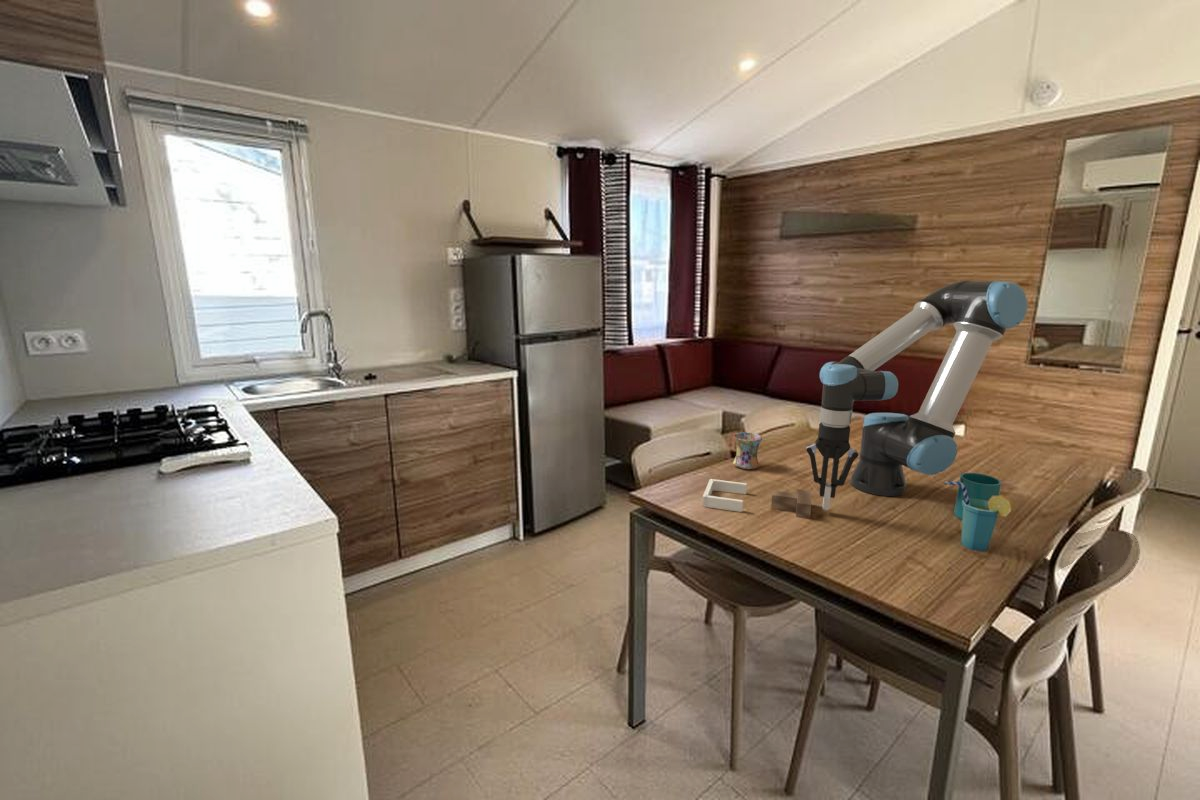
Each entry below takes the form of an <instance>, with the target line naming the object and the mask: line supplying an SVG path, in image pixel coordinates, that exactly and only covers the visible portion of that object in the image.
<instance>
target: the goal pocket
mask: <svg viewBox="0 0 1200 800" xmlns="http://www.w3.org/2000/svg"><path fill="white" fill-rule="evenodd" d="M747 488H748V483H746V482H738V481H730V480H723V479H722V480H721V479H714V478H710V479H709V480H708V483H707V485H706V487H705V489H704V492H703V495H702V500H701V501H702V503H701V507H703V508H711V509H717V510H725V511H732V512H740V513H743V508H744V507H743V505H744V500H743V499H736V498H732V497H731V498H728V497H724V496H723V497H721V496H715V495H712V494H713V491H717V492H723V493H733V494H739V495H747Z"/></svg>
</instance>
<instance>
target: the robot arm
mask: <svg viewBox="0 0 1200 800" xmlns="http://www.w3.org/2000/svg"><path fill="white" fill-rule="evenodd" d="M1028 306H1029V305H1028V298H1027V296H1026V292H1025V290H1024V288H1022V287H1021V286H1020V285H1019V284H1017V283H1015V282H1011V281H1002V280H991V281H989V280H960V281H956V282H952V283H950V284H947V285H945V286H942V287H941V288H938V289H937V290H935V291H933V292H931V293H930V294H928V295H926V296H925V297H923V298H922V299H920V300H919V301H917V302H916V303H915V304H914V306H913V308H912V310H911V311H910V312H908V313H907V314H905V315H904V316H903V317H901V318H900V319H898V320H897V321H895V322H894V323H893V324H891V325H890V326H888V327H887V328H885V329H884V330H883V331H881V332H880V333H878V334H877V335H876V336H874V337H873V338H871V339H870V340H869V341H867V342H866V343H864V344H863V345H862V346H860V347H859V348H857V349H855V351H853V352H852V353H850V354H849V355H847V356H846V357H844V358H842V359H841V360H840V361H829V362H826V363H824V364H823V366H822V367H821V368H820V371H819V379H820V382H821V383H822V394H821V407H820V414H819V421H820V423H819V425H818V432H817V433H818V434H817V438H816V440H815V442H814V443H813V444H812V445H807V446H806V447H805V448H806V452H807V453H808V456H809V459H810V463H811V469H812V476H813V482H814V483H816V484H819V492H818V493H819V496H820V497H823V498H822V510H825V511H829V510H830V504H831V498H832V499H835V497H836V491H837V489H836V488H837V487H839V486H840V487H843V486H844V485H845V483H846V480H847V478H848V475H849V474H850V473H849V472H850V470H851V468H852V465H853V463H854V462H855V460H856V459H857V458H858V457H859V460H858V461H857V463H856V464H855V465H856V466H855V467H854V469H853V471H852V472H851V474H850V475H851V476H850V482H849V483H850V485H851V486H852V487H853V488H854V489H856V490H859V491H860V492H864V493H865V494H866V493H867V494H870V495H876V496H882V497H883V496H884V497H897V496H902V495H904V494H905V493H906V490H907V482H906V477H905V472H904V469H903V466H904V467H905V468H908V469H909V470H911V471H914V472H916V473H921V474H923V475H927V476H933V475H937V474H940V473H942V472H944V471H946V470H947V469H948V468H950V466H951V465H953V463H954V461H955V460H956V458H957V455H958V449H957V448H958V445H957V443H956V441H955V439H954V437H955V435H956V429H954V425H953V424H954V422H955V420H956V418H957V416H958V414H959V412H960V410H961V408H962V406H963V404H964V402H965V399H966V397H967V396H968V393H969V391H970V390H971V388H972V385H973V383H974V381H975V379H976V377H977V374H978V373H979V370H980V369H981V366H982V364H983V362H984V361H985V358H986V357H987V355H988V352H989V351H990V348H991V346H992V344H993V342H996V341H998V340H1000V339H1003V337H1004V335H1005V332H1006V330H1008V329H1013V328H1016V327H1017V325H1020V324H1022V322H1023V321H1024V319H1025V317H1026V315H1027V312H1028ZM950 324H953V327H954V329H955V330H956V331H955V334H954V337H953V338H952V341H951V343H950V345H949V347H948V349H947V351H946V353H945V355H944V357H943V359H942V362H941V364H940V366H939V368H938V370H937V371H936V374H935V377H934V379H933V381H932V382H931V384H930V387H929V389H928V391H927V393H926V394H925V398H924V400H923V402H922V403H921V405H920V408H919V410H918V412H916V413H913V414H911V415H907V414H904V413H899V412H898V413H895V412H872V413H868V414H867V415H866V416H865V417H864V421H863V424H862V432H861V441H860V442H861V443H860V453H858V451H857V450H856V449H853V448H852V447H851V444H850V442H849V441H850V435H851V434H850V433H851V426H850V425H851V424H852V417H853V407H854V402H861V401H862V402H863V401H864V402H866V401H868V402H869V401H870V402H871V401H883V400H884V401H886V400H890V399H893V397H895V396H896V394H897V393H898V391H899V381H898V380H899V379H898V378H897V376H896V375H895V374H894V373H892V371H887V370H884V371H883V370H877V369H878V368H880V367H881V366H882V365H884V364H885V363H886V362H888V361H890V360H891V359H893V358H894V357H895V356H897V355H898V354H899V353H901V352H902V351H903V350H906V348H908V347H909V346H911V345H912V344H914V343H915V342H916V341H918V340H919V339H921V338H922V337H924V336H925V335H926V334H928V333H930V332H931V331H938V330H939V329H942V328H943V327H944V326H946V325H950ZM875 370H877V371H875ZM817 450H818V452H819V454H820V455H821V456H822V464H821V473H820V474H821V475H820V477H819V474H818V473H819V472H818V466H817V465H818V464H817V460H816V455H815V454H816V452H817ZM846 453H847V458H846V460H845V463H844V465H843V467H842V471H841V473H840V474H839V466H840V465H839V464H840V459H841V458H842V457H844V455H845V454H846ZM830 459H833V460H832V461H833V462H832V466H831V467H832V468H831V469H832V470H831V478H830V483H827V479H828V478H827V477H828V467H829V462H830V461H829V460H830ZM838 474H839V478H838Z"/></svg>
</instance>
